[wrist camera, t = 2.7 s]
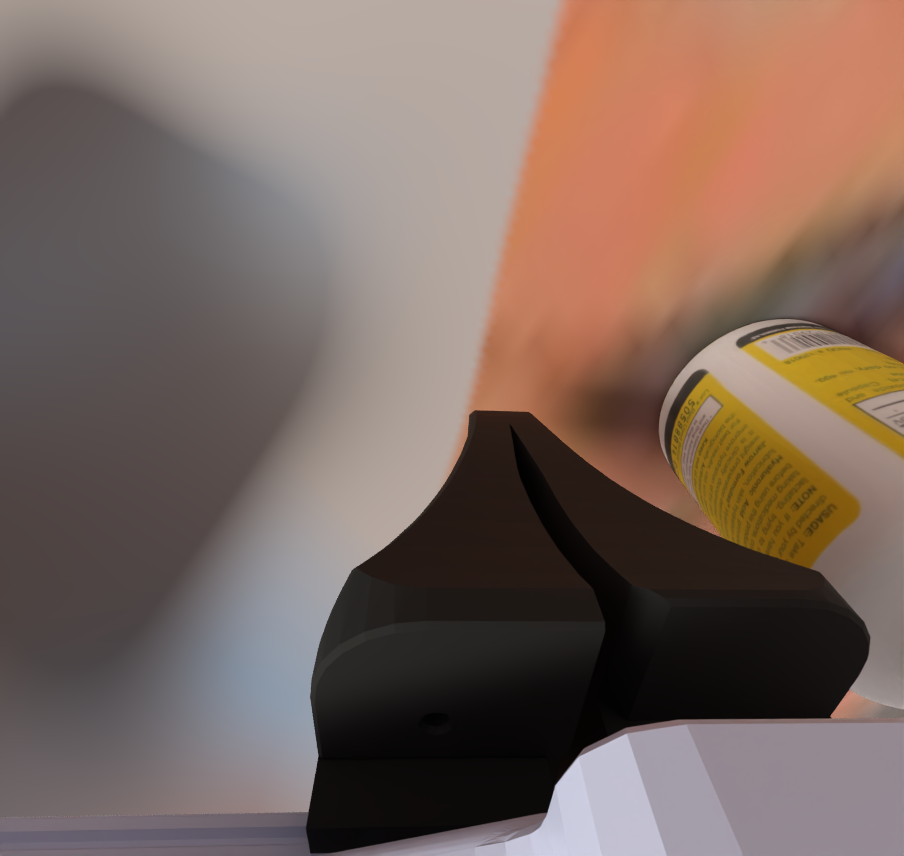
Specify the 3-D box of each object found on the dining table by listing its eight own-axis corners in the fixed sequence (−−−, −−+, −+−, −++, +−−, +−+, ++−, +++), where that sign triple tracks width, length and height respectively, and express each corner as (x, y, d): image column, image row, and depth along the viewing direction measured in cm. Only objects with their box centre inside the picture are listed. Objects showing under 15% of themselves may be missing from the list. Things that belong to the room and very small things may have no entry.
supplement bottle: (707, 512, 16) (1003, 915, 8) (617, 400, 14) (891, 787, 6) (876, 412, 15) (1478, 785, 6) (804, 268, 13) (1566, 538, 4)
